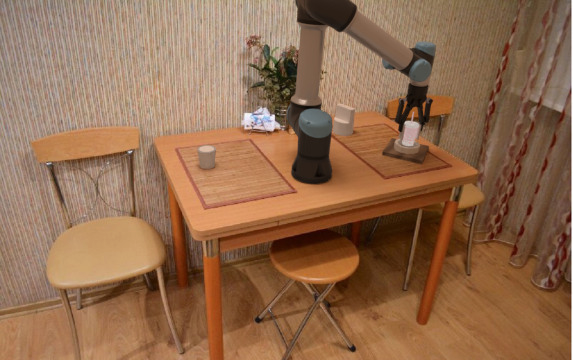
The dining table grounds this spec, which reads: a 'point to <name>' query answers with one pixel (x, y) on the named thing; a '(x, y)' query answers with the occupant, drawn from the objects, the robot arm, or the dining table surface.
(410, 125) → the beverage cup
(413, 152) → the ring
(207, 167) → the gray tapered cup
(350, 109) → the cylinder with rectangular tab
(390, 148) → the holder
